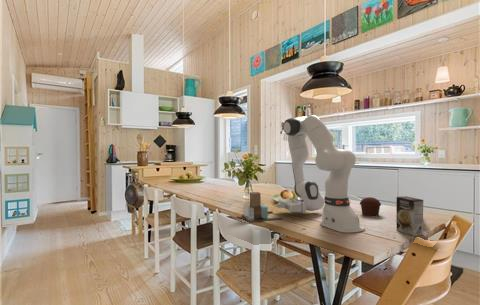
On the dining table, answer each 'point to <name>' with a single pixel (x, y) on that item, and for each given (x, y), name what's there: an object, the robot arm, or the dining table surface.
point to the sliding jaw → (264, 211)
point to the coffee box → (410, 215)
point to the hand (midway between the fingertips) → (276, 205)
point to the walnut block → (256, 203)
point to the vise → (249, 214)
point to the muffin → (370, 206)
